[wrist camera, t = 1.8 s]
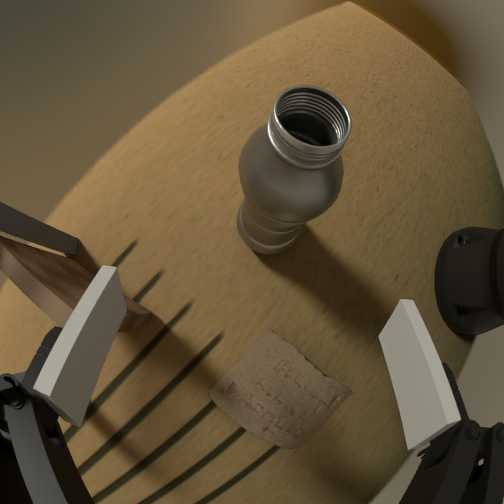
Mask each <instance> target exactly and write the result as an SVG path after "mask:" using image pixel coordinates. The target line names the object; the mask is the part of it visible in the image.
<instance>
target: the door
mask: <svg viewBox="0 0 504 504" xmlns="http://www.w3.org/2000/svg"><path fill="white" fill-rule="evenodd" d="M0 269H1V270H2V271H3V272H4V273H5V274H6V275H7V276H8V277H9V279H10V280H11V281H12V282H13V283H14V284H15V285H16V286H17V287H18V288H19V289H20V290H21V291H22V292H23V293H24V294H25V295H26V296H27V297H28V298H29V299H30V300H31V301H32V302H33V303H34V304H36V305H37V306H38V307H39V308H40V309H41V310H42V311H43V312H44V313H45V314H46V315H48V316H49V317H50V318H51V319H52V320H53V321H54V322H56V323H57V324H58V325H59V326H60V327H62V328H64V326H65V325H66V323H67V321H68V319H69V318H70V316H71V314H72V313H73V311H74V309H75V308H76V306H77V304H78V303H79V301H80V299H81V298H82V296H83V295H84V293H85V291H86V290H87V288H88V287H89V285H90V284H91V282H92V281H93V279H94V277H95V275H94V274H92V273H91V272H89V271H88V270H87V269H85V268H84V267H82V266H81V265H80V264H78V263H77V262H75V261H74V260H73V259H70V258H67V257H64V256H61V255H57V254H54V253H51V252H48V251H44V250H41V249H38V248H35V247H32V246H29V245H26V244H22V243H20V242H17V241H14V240H11V239H8V238H5V237H2V236H0ZM123 296H124V300H125V304H126V308H127V312H126V314H125V316H124V318H123V320H122V322H121V325H120V327H119V329H118V331H117V332H121V331H125V330H129V329H133V328H137V327H141V326H145V325H147V323H148V321H149V319H150V317H151V315H152V312H151V311H149V310H147V309H146V308H144V307H142V306H141V305H139V304H138V303H136V302H134V301H133V300H131V299H130V298H128V297H127V296H125V295H124V294H123Z"/></svg>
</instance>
